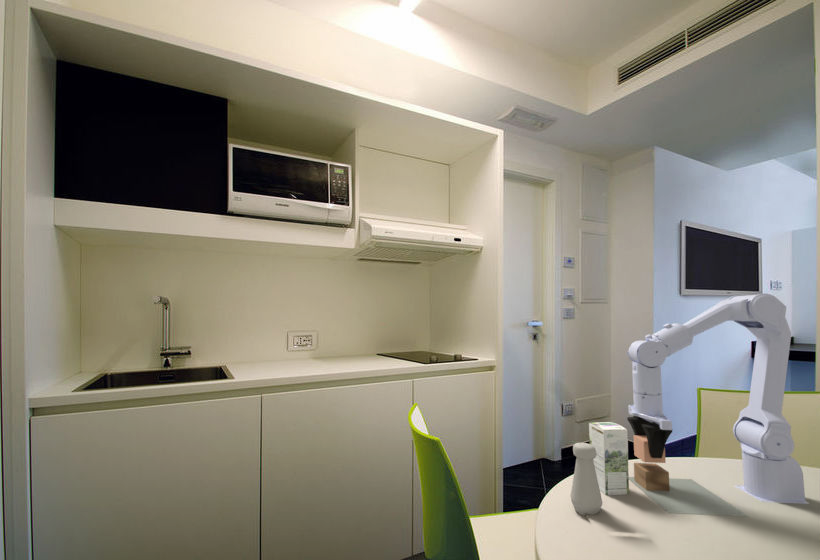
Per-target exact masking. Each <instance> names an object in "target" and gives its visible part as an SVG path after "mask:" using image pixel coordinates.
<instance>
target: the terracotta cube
mask: <svg viewBox="0 0 820 560" xmlns="http://www.w3.org/2000/svg"><path fill="white" fill-rule="evenodd" d="M633 451H634V452H633V453H634V454H633V455H634V456H635V457H637V458H638V459H639V460H640V461H642V463H652V464H657V463H659V464H666V447H664V451H663V456H662V458H652V457H651V456H650V452H649V446H648V441H647V437H646V436H639V435H635V434H634V435H633Z"/></svg>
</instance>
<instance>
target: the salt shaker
mask: <svg viewBox="0 0 820 560" xmlns="http://www.w3.org/2000/svg"><path fill="white" fill-rule="evenodd" d="M572 452H573V456H575V457H576V459H575V464H574V465H575V466H574V472H573V478H572V484H571V489H570V501H571V504H572V506H573V509H574V511H575V512H576V513H578V514H579V515H581V516H584V517H587V516H588V515H597V514H598V513H600V511H601V508H602V506H603V499H602V494H601V493H602V492H600V489H599V484H598V480H597V475H596V470H595V466H594V461H593V459H594V458H596V449H595V447H594V446H593V445H591V444H589V443H586V442H576V443H574V444H573V445H572Z"/></svg>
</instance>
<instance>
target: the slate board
mask: <svg viewBox="0 0 820 560" xmlns="http://www.w3.org/2000/svg"><path fill="white" fill-rule="evenodd" d="M629 481H630V482H631V483H632V484H633V485H635V487H636V488H638V489H639V490H640V491H642V492H643V493H644V494H645V495H647V497H648V498H650V499H651V500H652V501H653V502H655V504H657V505H658V506H659V507H661V508H662V509H663V510H664V511H665V512H667V513H668V514H674V515H675V514H678V515H679V514H680V515H704V516H706V515H708V516H729V517H731V516H732V517H749V515H748V514H746V513H745V512H744V511H742V510H740V508H737V507H735V506H734V505H733V504H731V503H729V502H728V501H726V500H725V499H723V498H722V497H720V496H718V495H717V494H715V493H713V492H712V491H711V490H710V489H707V488H706V487H704V485H703V486H702V485H701V484H700V483H699V482H697V481H695V480H693V479H692V478H691V479H690V478H670V477H669V488H670V491H653V490H645V489H644V488H643V487H642V486H640V485H639V484H638V483H637V482H636V481H635V479H634V476H629Z"/></svg>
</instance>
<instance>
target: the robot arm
mask: <svg viewBox="0 0 820 560" xmlns="http://www.w3.org/2000/svg"><path fill="white" fill-rule="evenodd" d="M786 312H787V305H785V303H783V302H782V301H780V299H778V298H777V296H775V295H773V294H770V293H766V292H765V293H758V294H750V295H747V294H746V295H732V296H730V297H729V298H727V299H723V300H720V301H719V302H718V303H716V304H714V306H712V307H710V308H707V309H706V310H705V311H703V312H701V313H700V314H698V315H696V316H695V317H693V318H692V319H690V320H688V321H686V322H684V323H683V324H681V323H677V322H676V323H665V324H664V325H662V327H663V328H662V329H660V330H658V331H657V332H655V333H652V334H650V333H649V334H646V335H645V336H644V338H645V340H643V339H640V340H635V341H633V342H632V343H631V344H630V346H629V348H628V350H627V351H626V354H627V357H628V360H630V361H631V365H632V366H631V367H632V372H631V373H632V393H633V395H632V396H633V398H632V399H633V404H628V406H627V407H628V409H627V410H628V414H629V415H631V416H628V417H627V418H626V419H627V421H628V422H629V424H630V427H631V429H632V432H633V434H634V435H639V436H646V437H647V441H648V446H649V452H650V456H651V457H652V458H662V456H663V451H664V447H665V446H666V444H667V442H668V439H669V437H670V435H672V433H673V422H672V420H670V419H668V417H667V416H666V414H664V412H663V411H664V410H663V408H664V406H663V392H662V391H663V390H662V389H663V387H662V371H661V366H662V365H664V364H665V361H666V359H667V358H668V357H670V356H672V355H674V354H676V353H678V352H680V351H682V350H683V349H685V348H688V346H691V345H692V344H693V340H694V337H696V336H698V335H699V334H701V333H704V332H706V331H708V330H710V329H713V328H714V327H716V326H719V325H721V324H723V323H726V322H728V321H733V322H734V323H736V324H738V325H740V326H741V327H744V328H746V329H747V330H748V331H749V332H750V333H751V334H752V335H753V336H754V337H755V338H756V345H755V352H754V358H753V359H754V360H753V367H752V375H751V381H750V382H751V383H750V389H749V398H748V405H747V406H746V407H744V408H743V409H741V410H740V412H739V416H738V419H737V420H736V421H735V423H734V424H733V427H732V433H733V436H734V438H735V439H736V440H737V442H739V444H740V448H741V459H742V474H743V475H742V476H743V484H742V485H741V484H735V485H733V487H735V488H736V489H738V490H740V491H742V492H744V493H746V494H748V495H749V496H751V497H752V498H754V499H756V500H757V501H759V502H761V503H781V504H783V503H784V504H808V505H810V502H808V501H806V493H805V480H804V473H803V469H802V466H801V465H800V463H799V462H798V460H796V459H795V458H794V457H792V456H791V455H792V454H793V452H794V450H795V442H794V439H793V436H792V425H791V424H790V423H789V422H788V420H787V419H786V417H785V416H784V415H783V414H782V413H783V412H782V411H783V405H784V404H783V403H784V395H785V388H786V379H787V373H788V366H789V365H788V363H789V356H790V347H791V339H792V331H791V328H790V326H789V323H788V320H787V318H786ZM665 448H666V447H665Z"/></svg>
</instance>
